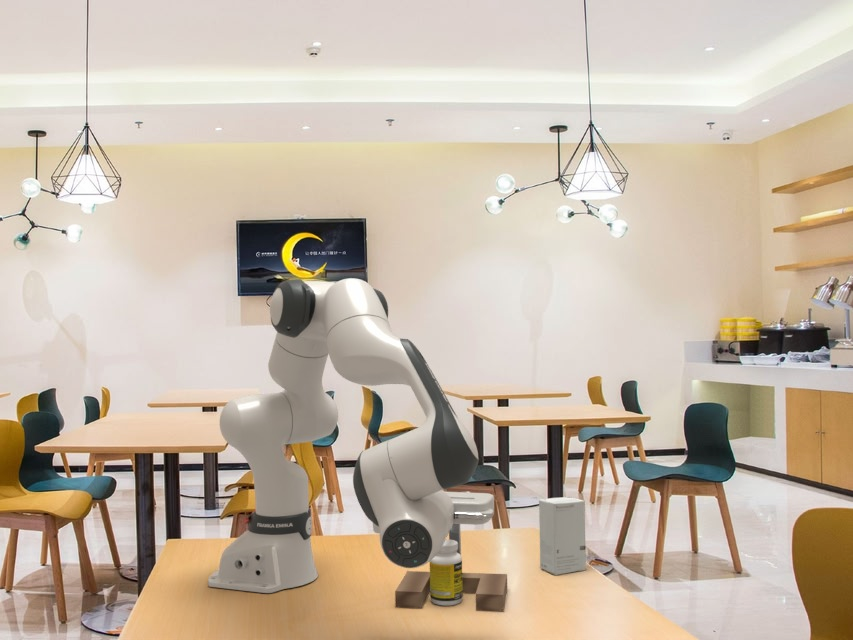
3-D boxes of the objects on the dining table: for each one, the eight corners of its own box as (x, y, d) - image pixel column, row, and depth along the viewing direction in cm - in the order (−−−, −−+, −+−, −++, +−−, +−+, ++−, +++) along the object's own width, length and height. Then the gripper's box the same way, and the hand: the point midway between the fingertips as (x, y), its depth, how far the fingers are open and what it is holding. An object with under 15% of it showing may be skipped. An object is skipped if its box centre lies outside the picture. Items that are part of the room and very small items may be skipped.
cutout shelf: (395, 607, 140) (395, 591, 140) (407, 586, 151) (407, 571, 151) (503, 611, 136) (503, 594, 136) (507, 589, 148) (507, 574, 148)
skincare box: (554, 576, 156) (553, 504, 156) (538, 568, 161) (536, 498, 161) (588, 570, 159) (586, 499, 159) (571, 562, 165) (569, 494, 165)
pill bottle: (460, 607, 139) (458, 547, 139) (427, 605, 140) (426, 546, 140) (465, 596, 145) (463, 538, 145) (433, 594, 146) (432, 537, 146)
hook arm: (443, 609, 138) (441, 516, 138) (451, 588, 149) (449, 502, 150) (454, 610, 138) (451, 516, 138) (461, 588, 149) (459, 502, 149)
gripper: (492, 497, 116) (498, 478, 130) (363, 492, 120) (383, 474, 133) (492, 538, 116) (498, 515, 130) (363, 532, 120) (383, 510, 133)
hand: (439, 494), depth 132 cm, fingers open, 8 cm apart
